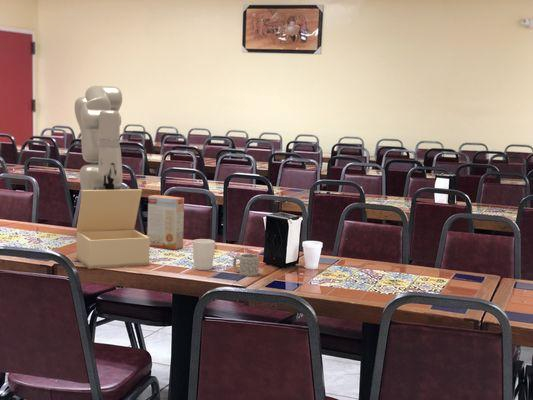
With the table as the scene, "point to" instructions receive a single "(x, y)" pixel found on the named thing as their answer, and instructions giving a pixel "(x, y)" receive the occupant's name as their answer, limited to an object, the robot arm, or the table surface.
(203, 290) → the table surface
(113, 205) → the carton lid
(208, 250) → the white cup
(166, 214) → the cracker box
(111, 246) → the carton
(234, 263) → the mug
